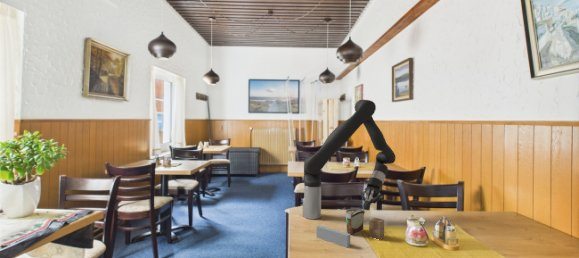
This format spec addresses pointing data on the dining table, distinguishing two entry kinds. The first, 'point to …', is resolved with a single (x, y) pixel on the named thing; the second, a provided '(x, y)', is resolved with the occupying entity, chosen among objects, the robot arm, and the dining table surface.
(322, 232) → the rail
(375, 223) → the walnut block
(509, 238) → the dining table surface
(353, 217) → the food container
